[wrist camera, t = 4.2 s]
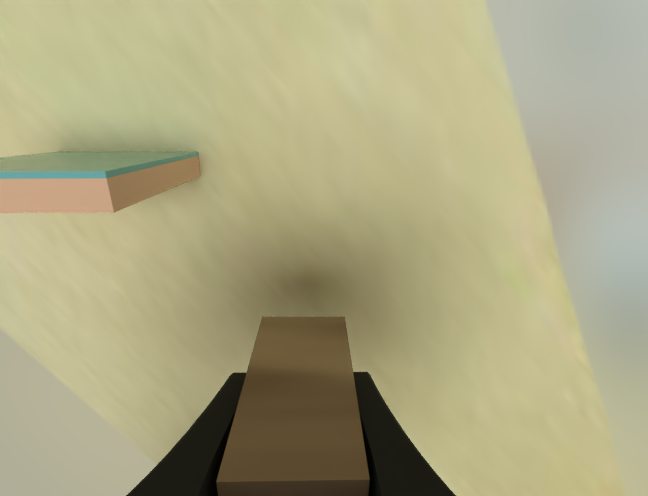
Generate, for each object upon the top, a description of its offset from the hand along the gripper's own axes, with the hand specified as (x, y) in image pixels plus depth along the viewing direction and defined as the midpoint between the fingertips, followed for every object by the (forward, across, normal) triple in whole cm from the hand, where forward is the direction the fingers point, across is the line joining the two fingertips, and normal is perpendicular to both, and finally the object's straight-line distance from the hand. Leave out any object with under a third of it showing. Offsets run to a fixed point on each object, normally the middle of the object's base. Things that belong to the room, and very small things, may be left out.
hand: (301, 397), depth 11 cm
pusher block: (+2, 0, 0) cm, 2 cm away
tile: (+9, +9, -6) cm, 14 cm away
